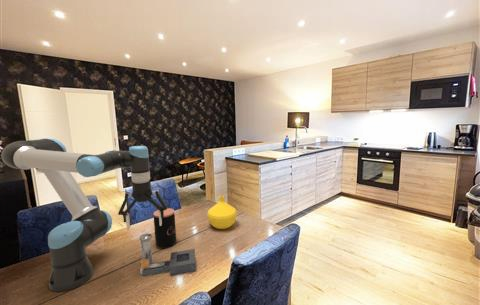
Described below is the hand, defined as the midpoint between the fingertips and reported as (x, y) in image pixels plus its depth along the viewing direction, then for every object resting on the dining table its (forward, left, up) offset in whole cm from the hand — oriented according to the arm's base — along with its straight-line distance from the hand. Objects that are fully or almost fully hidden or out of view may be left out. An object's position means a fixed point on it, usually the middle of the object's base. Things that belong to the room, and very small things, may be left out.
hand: (144, 226), depth 102 cm
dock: (+10, -6, -19) cm, 22 cm away
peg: (0, 0, -19) cm, 19 cm away
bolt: (+3, -6, -18) cm, 20 cm away
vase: (+40, +28, -19) cm, 52 cm away
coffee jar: (+7, +16, -19) cm, 26 cm away
